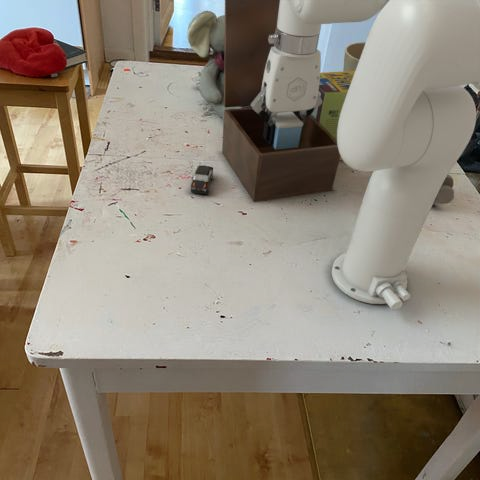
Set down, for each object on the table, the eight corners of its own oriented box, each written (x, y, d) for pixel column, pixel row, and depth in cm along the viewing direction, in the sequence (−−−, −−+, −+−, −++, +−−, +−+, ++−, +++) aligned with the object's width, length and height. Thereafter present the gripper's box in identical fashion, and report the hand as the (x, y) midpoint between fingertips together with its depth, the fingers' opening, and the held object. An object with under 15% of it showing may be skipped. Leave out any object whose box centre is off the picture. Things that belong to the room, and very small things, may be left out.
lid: (313, -13, 89) (301, -16, 93) (226, -13, 84) (216, -16, 88) (301, 101, 102) (290, 94, 106) (225, 107, 97) (216, 100, 101)
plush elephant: (297, 113, 122) (312, 22, 107) (232, 134, 112) (238, 36, 96) (231, 77, 135) (236, -8, 120) (167, 93, 124) (163, 1, 109)
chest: (331, 190, 98) (343, 146, 91) (253, 201, 93) (258, 155, 86) (293, 145, 110) (300, 103, 103) (221, 153, 105) (224, 109, 98)
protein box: (371, 158, 109) (392, 88, 98) (310, 164, 105) (324, 92, 94) (350, 136, 116) (368, 69, 104) (292, 141, 112) (304, 72, 100)
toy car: (188, 194, 93) (188, 157, 87) (200, 164, 101) (200, 128, 95) (207, 197, 93) (209, 160, 87) (218, 166, 101) (219, 131, 95)
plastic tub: (298, 147, 95) (303, 123, 91) (275, 150, 93) (278, 125, 90) (286, 133, 99) (290, 109, 95) (263, 135, 97) (266, 111, 93)
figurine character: (440, 202, 101) (374, 180, 102) (459, 171, 95) (388, 148, 96) (440, 219, 97) (370, 196, 97) (460, 188, 91) (386, 163, 92)
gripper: (259, 51, 78) (248, 154, 91) (349, 47, 82) (326, 145, 96) (243, 35, 82) (235, 135, 96) (329, 32, 87) (310, 128, 100)
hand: (281, 139), depth 96 cm, fingers closed on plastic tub, 5 cm apart
